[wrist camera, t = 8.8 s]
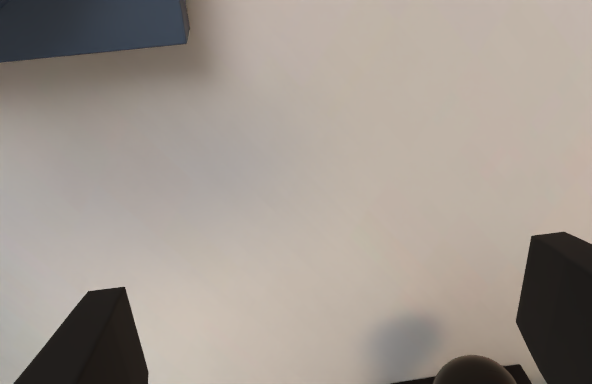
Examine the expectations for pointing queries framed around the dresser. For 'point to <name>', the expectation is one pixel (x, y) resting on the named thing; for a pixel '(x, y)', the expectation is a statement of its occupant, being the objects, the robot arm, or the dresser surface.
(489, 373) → the lever
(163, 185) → the dresser surface
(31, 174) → the dresser surface
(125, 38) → the control block
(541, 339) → the robot arm
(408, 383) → the bracket
